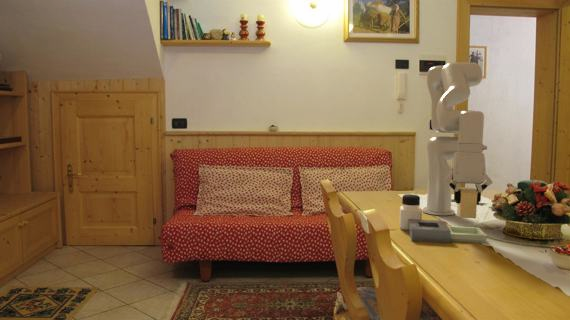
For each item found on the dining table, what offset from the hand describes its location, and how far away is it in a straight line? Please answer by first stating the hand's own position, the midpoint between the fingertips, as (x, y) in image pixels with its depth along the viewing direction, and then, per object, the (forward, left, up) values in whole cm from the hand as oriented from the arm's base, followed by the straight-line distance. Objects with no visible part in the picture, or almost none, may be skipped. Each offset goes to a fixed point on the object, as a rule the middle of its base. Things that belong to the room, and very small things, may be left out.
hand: (466, 202), depth 157 cm
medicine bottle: (-10, -17, -12) cm, 23 cm away
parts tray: (0, 0, -12) cm, 12 cm away
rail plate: (+1, -12, -12) cm, 17 cm away
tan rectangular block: (0, 0, -5) cm, 5 cm away
